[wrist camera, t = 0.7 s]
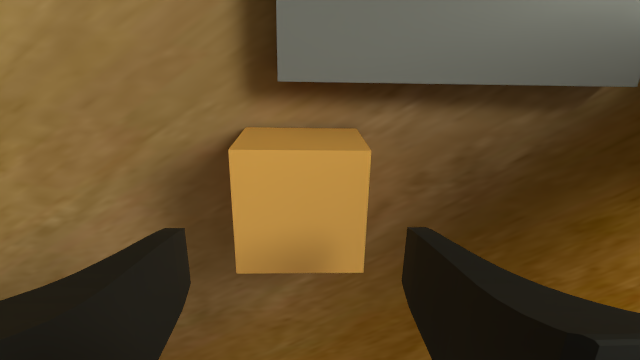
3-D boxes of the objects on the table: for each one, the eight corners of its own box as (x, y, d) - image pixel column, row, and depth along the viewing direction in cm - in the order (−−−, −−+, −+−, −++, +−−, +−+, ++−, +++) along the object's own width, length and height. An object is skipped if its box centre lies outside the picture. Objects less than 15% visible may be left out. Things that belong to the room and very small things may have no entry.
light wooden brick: (356, 128, 18) (371, 150, 14) (351, 227, 20) (363, 272, 16) (245, 127, 18) (228, 149, 14) (250, 227, 20) (236, 273, 16)
